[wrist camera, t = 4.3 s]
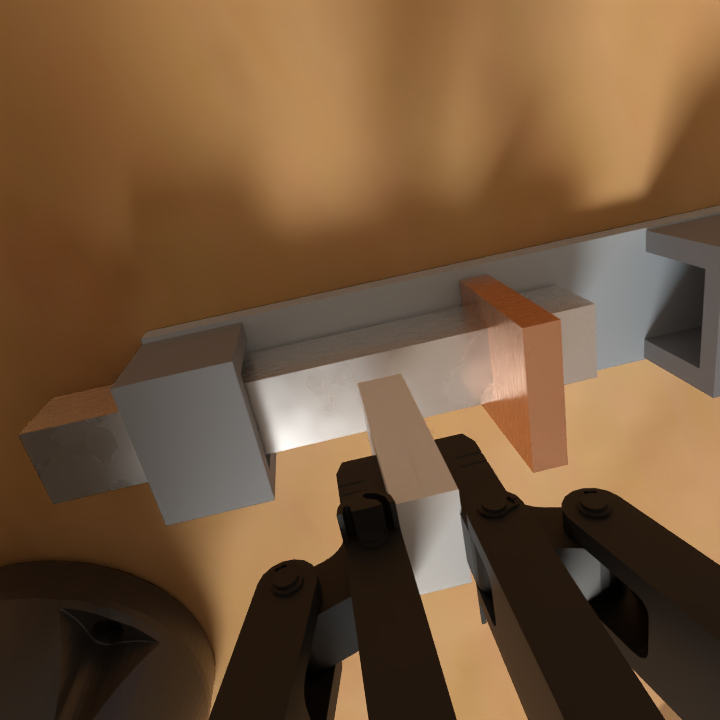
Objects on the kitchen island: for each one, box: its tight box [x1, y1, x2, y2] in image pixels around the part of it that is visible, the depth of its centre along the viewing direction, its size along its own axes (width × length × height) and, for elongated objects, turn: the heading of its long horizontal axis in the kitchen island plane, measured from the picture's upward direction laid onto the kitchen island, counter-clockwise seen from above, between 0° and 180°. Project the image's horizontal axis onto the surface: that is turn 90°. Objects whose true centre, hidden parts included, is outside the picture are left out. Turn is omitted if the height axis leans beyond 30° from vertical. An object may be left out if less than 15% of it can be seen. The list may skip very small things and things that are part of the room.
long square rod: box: [18, 274, 597, 504], centre depth 20 cm, size 21×5×6 cm, turn 100°
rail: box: [110, 205, 720, 526], centre depth 21 cm, size 26×6×5 cm, turn 100°
